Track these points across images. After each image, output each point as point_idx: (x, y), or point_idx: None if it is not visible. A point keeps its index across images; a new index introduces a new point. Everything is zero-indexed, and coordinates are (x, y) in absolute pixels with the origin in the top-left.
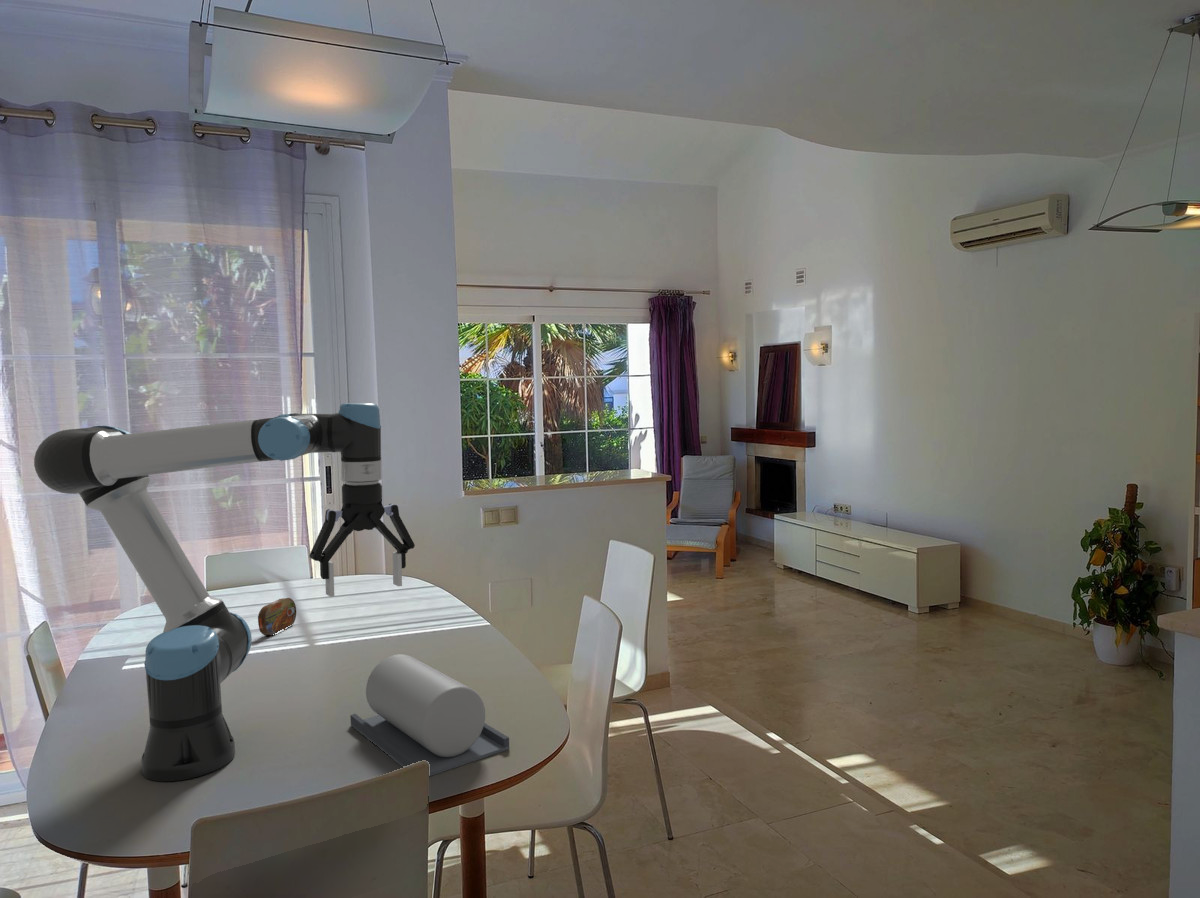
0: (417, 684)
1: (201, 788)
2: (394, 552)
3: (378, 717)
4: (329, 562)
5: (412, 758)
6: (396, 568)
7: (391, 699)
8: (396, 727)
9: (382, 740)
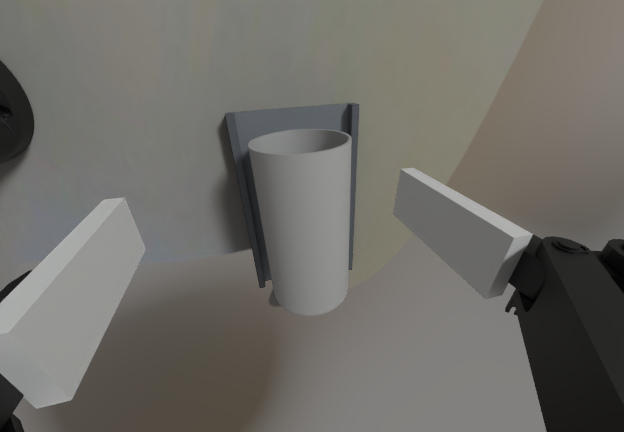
0: (294, 275)
1: (6, 199)
2: (511, 252)
3: (267, 119)
4: (33, 394)
5: (261, 271)
6: (436, 235)
7: (265, 232)
8: None
9: (246, 219)
